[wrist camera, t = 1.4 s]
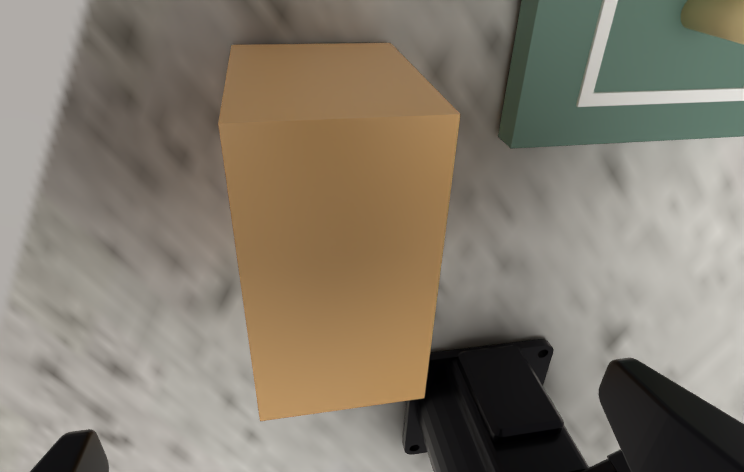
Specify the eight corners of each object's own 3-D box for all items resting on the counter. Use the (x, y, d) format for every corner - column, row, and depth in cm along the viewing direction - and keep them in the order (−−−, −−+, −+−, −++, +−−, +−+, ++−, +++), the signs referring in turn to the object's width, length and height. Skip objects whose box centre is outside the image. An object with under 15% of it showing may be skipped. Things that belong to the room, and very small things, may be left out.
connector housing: (379, 268, 19) (424, 398, 14) (258, 279, 18) (260, 421, 13) (390, 43, 14) (460, 114, 10) (231, 44, 14) (217, 123, 9)
